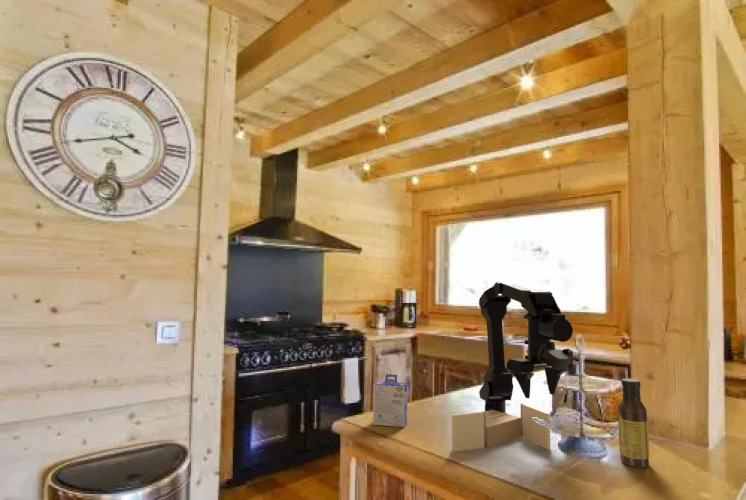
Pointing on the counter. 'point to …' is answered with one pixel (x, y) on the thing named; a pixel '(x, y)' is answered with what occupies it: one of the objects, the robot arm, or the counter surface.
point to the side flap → (535, 426)
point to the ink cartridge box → (390, 402)
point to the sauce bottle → (633, 426)
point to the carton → (501, 427)
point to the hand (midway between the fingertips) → (539, 396)
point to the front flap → (468, 431)
